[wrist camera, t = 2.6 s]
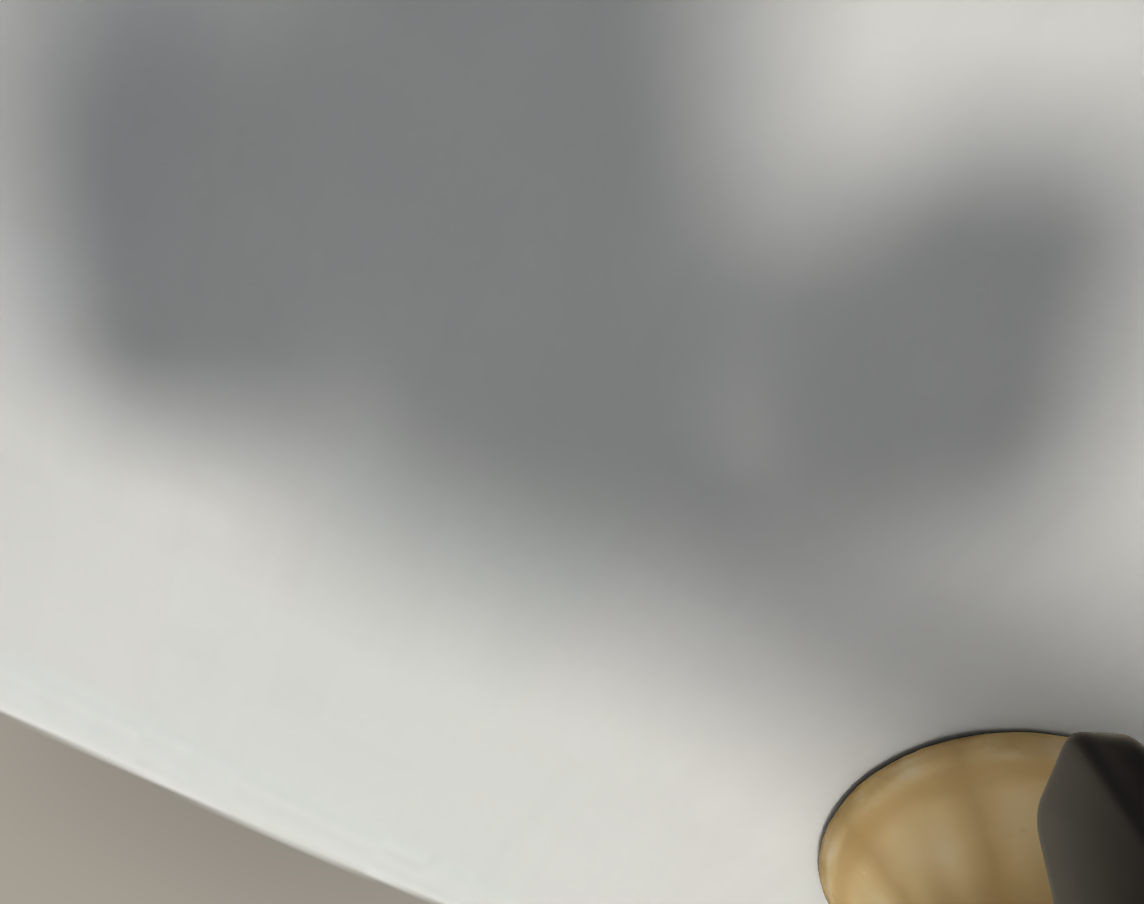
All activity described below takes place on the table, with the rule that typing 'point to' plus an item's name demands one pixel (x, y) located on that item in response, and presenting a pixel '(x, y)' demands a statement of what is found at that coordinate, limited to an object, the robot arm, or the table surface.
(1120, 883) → the robot arm
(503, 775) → the table surface
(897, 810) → the hand bell
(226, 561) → the table surface
